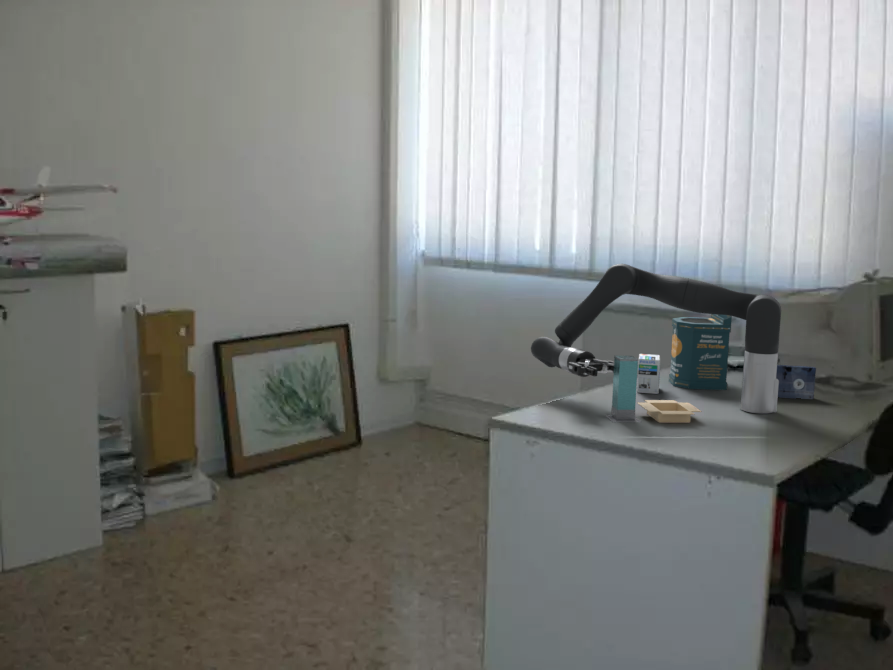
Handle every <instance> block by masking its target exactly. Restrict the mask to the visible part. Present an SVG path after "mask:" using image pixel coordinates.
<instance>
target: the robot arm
mask: <svg viewBox="0 0 893 670" xmlns="http://www.w3.org/2000/svg"><path fill="white" fill-rule="evenodd" d="M623 295H632V296H638V297H640V296H641V297H646V298H649V299H653V300H656V301H658V302H661V303H663V304H665V305H668V306H670V307H674V308H676V309H680V310H684V311H686V312H687V311H688V312H693V313H698V314H707V315H711V314H719V315H729V316H732V317H734V318H738V319H740V320H744V321H745V335H744V354H743V355H744V356H743V367H742V369H743V371H742V381H741V395H740V397H741V399H740V410H741V411H742V412H743V411H744V412H747V413H753V414H771V413H777V409H778V408H777V407H778V385H779V380H778V379H776V373H777V365H778V358H779V357H778V356H779V347H780V333H781V332H780V331H781V330H780V329H781V319H782V317H781V316H782V306H781V303H780V302H779V301H778V300H777V299H776V298H775V297H773V296H772V295H766V294H757V293H748V292H740V291H736V290H733V289H728V288H726V287H723V286H720V285H716V284H713V283H709V282H705V281H702V280H697V279H692V278H688V277H684V276H683V277H681V276H676V275H667V274H658V273H654V272H650V271H647V270H643V269H641V268H637V267H635V266H632V265H630V264H626V263H617V264H614V265H611V266H609V268H607V270H606V271H605V273H604V274H603V276H602V277H601V279H600V280H599V282H598V283H597V285H596V286H595V287H594V288H593V289H592V291H591V292H590V293H589V294H588V296H586V298H584V300H583V301H582V302H580V303H579V304H578V305H577V306H576V307H575V308H574V309H573V310H572V311H571V312H569V313H568V315H567V316H566V317H564V319H563V320H562V321H561V322H559V323H558V325H556V327H555V329H554V334H555V335H556V336H557V339H559V341H558V342H557V340H553V339H552V338H550V337H547V336H540V337H537V338H535V340H533V342H532V343H531V346H530V351H531V352H530V353H531V355H532V356H533V357H534V358H535V359H537V360H538V361H540V362H541V363H543V364H544V365H545V366H546V367H549V368H558V369H561V370H563V371H566V372H568V373H570V374H573V375H576V376H578V377H582V378H586V377H589V376H592V377H597V376H598V373H599V374H607V373H612V374H614V360H609V359H605V360H603V359H602V360H601V359H600V358H596V356H595V355H594V354H593V353H592V352H590V351H588V350H584V349H581V348H578V347H572V346H573V344H574V342H575V341H577V340H578V338H579V337H580V336H582V335H583V333H585V331H586V330H587V329H588V328H589V327H590V326H591V325H592V324H593V322H594V321H595V320H596V319H597V318H598V317H599V315H600V314H601V313H602V312H604V310H605V309H606V308H607V307H608V306H610V305H611V304H612V303H613V302H615V300H617V299H619V298H620V297H622V296H623ZM603 369H604V370H603Z"/></svg>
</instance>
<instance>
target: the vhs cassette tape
mask: <svg viewBox="0 0 893 670" xmlns="http://www.w3.org/2000/svg"><path fill="white" fill-rule="evenodd" d="M816 373H817V367H816V366H807V365H806V366H805V365H789V364H788V365H785V364H777V373H776V379H778V380H779V385H778V397H779V398H782V399H796V398H801V400H814V397H815V388H816V387H815V385H816V375H817V374H816Z"/></svg>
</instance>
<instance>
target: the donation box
mask: <svg viewBox="0 0 893 670" xmlns="http://www.w3.org/2000/svg"><path fill="white" fill-rule="evenodd" d="M732 318H733V316H729V315H719V314H710V317H693V316H691V317H689V316H682V317H674V318H671V319H672V321H671V326H672V337H671V339H672V340H671V353H670V354H671V355H670V372H669V374H668V383H670V385H672V386H673V387H678V388H683V389H688V390H712V391H713V390H715V391H716V390H717V391H727V390H728V382H727V377H728V376H727V374H728V373H727V372H728V362H729V361H728V360H729V345H730V333H732V321H733V320H732Z"/></svg>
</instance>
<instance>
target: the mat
mask: <svg viewBox="0 0 893 670" xmlns="http://www.w3.org/2000/svg"><path fill="white" fill-rule="evenodd" d="M604 416H605V417H607V419H609V420H610V421H611V422H612V423H642V421H641V420H640V419H638V418H637V417H636V416H635V421H616V420H615V419H614V418H613V417H611V414H605V415H604Z"/></svg>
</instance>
